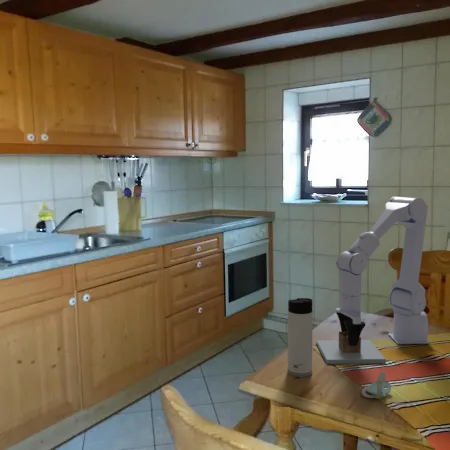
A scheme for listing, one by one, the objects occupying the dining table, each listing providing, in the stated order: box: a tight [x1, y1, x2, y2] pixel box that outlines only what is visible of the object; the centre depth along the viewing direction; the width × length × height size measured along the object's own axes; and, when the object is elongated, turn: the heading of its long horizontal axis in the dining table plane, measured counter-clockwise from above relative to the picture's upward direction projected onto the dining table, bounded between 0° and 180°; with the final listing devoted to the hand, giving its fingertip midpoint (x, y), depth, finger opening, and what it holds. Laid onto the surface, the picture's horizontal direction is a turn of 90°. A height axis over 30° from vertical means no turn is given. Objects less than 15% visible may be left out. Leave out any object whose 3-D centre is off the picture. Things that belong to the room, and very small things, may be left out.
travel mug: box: [287, 297, 314, 378], centre depth 120 cm, size 6×7×20 cm
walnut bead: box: [338, 330, 362, 353], centre depth 133 cm, size 5×5×4 cm
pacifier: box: [361, 370, 392, 400], centre depth 109 cm, size 7×6×6 cm
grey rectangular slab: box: [316, 336, 387, 365], centre depth 133 cm, size 16×14×5 cm
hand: (349, 340), depth 133 cm, fingers open, 7 cm apart
